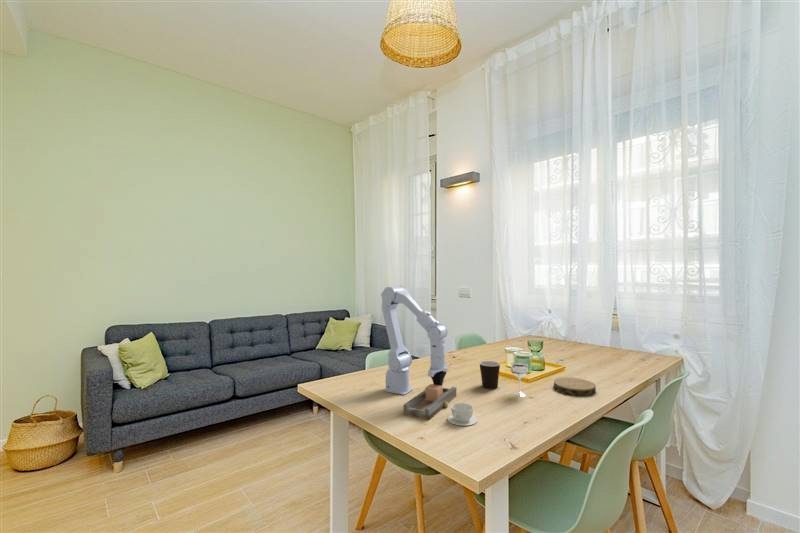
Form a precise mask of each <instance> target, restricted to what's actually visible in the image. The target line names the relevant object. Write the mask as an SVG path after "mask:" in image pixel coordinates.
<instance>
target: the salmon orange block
mask: <svg viewBox="0 0 800 533" xmlns="http://www.w3.org/2000/svg"><path fill="white" fill-rule="evenodd" d="M443 388H444V386H443V385H442V386H440V385H434V384H433V383H431V384H429V385H427V386H426V387H425V389H424V390H425V392H426V400H431V401H436V400H437V399H438V398H439V397H441V396H442V395H443Z"/></svg>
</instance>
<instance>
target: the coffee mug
mask: <svg viewBox="0 0 800 533" xmlns="http://www.w3.org/2000/svg"><path fill="white" fill-rule="evenodd" d="M479 368H480V370H479V371H480V377H481V385H482V388H484V389H487V390H496V389H497V388H498V387H499V378H500V368H501V364H500V362H497V361H492V360H483V361H480V362H479Z"/></svg>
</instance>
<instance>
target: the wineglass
mask: <svg viewBox="0 0 800 533" xmlns="http://www.w3.org/2000/svg"><path fill="white" fill-rule="evenodd" d="M510 365H511V367H510V372H511V374H512V375H514V377H516V378H517V379H518V391H515V392H513V395H515V396H517V397H525V396H527V393H526V392H523V391H521V383H522V382H521V379H523V378H524V377H526V376H527V375H528V374H529V368H528V366H529V364H528V363H525V362H517V361H515V362H512V363H510Z"/></svg>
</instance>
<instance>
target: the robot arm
mask: <svg viewBox="0 0 800 533" xmlns="http://www.w3.org/2000/svg"><path fill="white" fill-rule="evenodd" d="M380 295H381V300H382V301H381V311H382V317H383V320H384V324H385V328H386V333H387V337H388V342H389V346H390V350H389V351H388V353H387V356H388V360H387V364H388V369H387V370H386V373H385V390H384V392H387V393H391V394H397V395H403V396H405V395H406V394H408V393H409V392H411V391H413V390H414V388H413V387H410V373H409V372H410V371H409V370H410V366H411V365H412V364H413V363H412V362H413V358H412V355H411V354H410V352H409V349H408V348H407V347H406V346H405V345H404V341H403V338H402V334H401V328H400V325H399V320H398V316H397V313H396V308H397V307H398V306H399V304H403V305H404V306H405V307H406V308H407V309H408V310H409V311H410V312H411V313H412V314H414V316H415V317H416V322H417V323H418V325H420V326H421V327H422V328H423V329H424V330H425V331H426V335H427V337H428V339H429V343H430V344H429V345H430V347H429V348H430V366H429V369H428V370H427V377H430V378H431V380H432V384H434V385H440V386H443V385H444V379H445V378H446V375H447V371H449V367H448V363H447V362H446V339H445V338H446V337H447V336H448V329H447V326H445V325H444V324H443V323H440V322H439V321H438V320H436V319H435V318H434V317H433V316H432V313H431V311H427V310H423V309H422V308H421V307H420V306H419V304H418V303H417V302H416V301H415V300H414V298H413V297H412V296H411V295H410V292H409V290H407V289H406V288H405V287H404V286H402V285H398V286H387V287H384V289H383V291H382V292H381V294H380Z"/></svg>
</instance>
